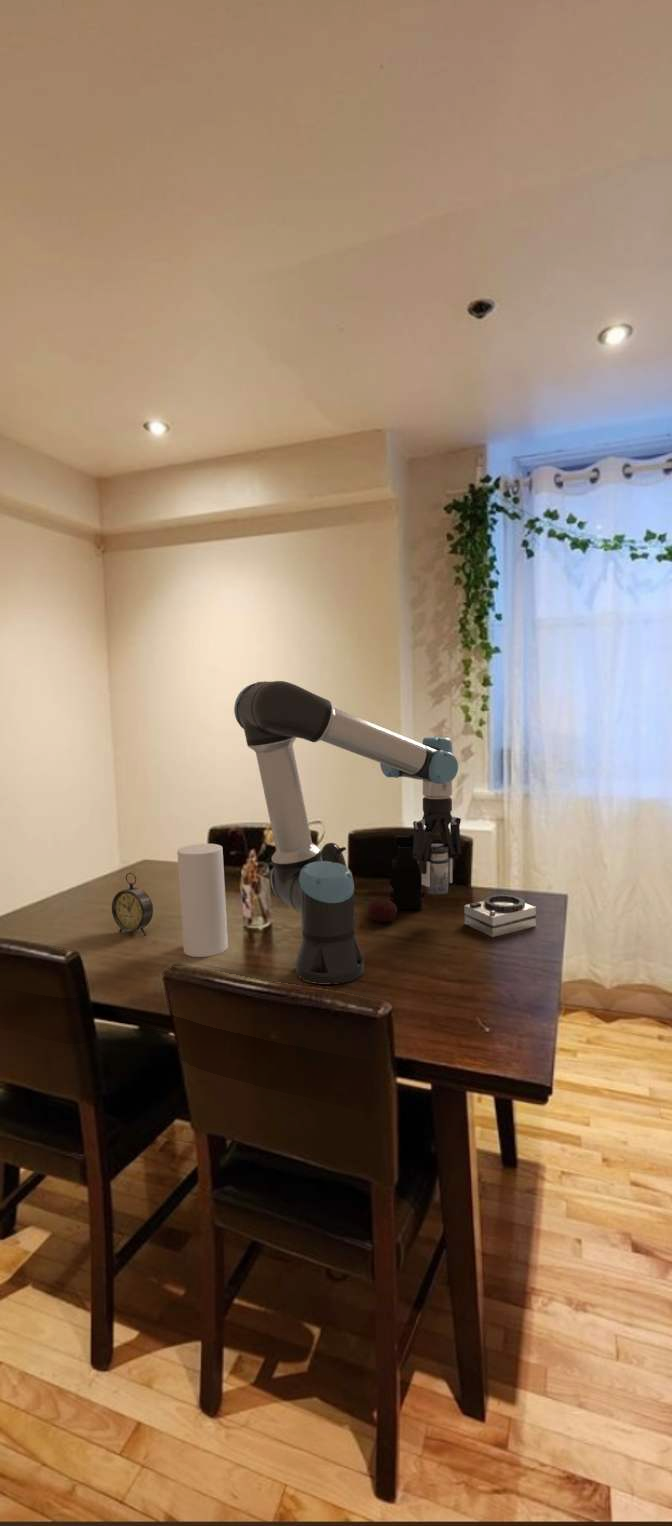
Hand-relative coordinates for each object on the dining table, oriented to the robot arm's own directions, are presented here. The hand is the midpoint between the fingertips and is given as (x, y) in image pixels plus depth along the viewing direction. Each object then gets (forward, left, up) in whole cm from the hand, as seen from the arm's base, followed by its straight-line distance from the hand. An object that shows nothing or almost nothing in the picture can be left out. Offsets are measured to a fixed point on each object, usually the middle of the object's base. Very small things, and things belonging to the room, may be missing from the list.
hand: (437, 883), depth 177 cm
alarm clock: (-71, +36, -10) cm, 81 cm away
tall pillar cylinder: (-58, +15, -10) cm, 61 cm away
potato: (-12, +8, -10) cm, 18 cm away
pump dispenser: (-11, +39, -10) cm, 42 cm away
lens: (0, 0, -2) cm, 2 cm away
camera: (+2, +17, -10) cm, 20 cm away
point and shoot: (+12, -11, -10) cm, 19 cm away
